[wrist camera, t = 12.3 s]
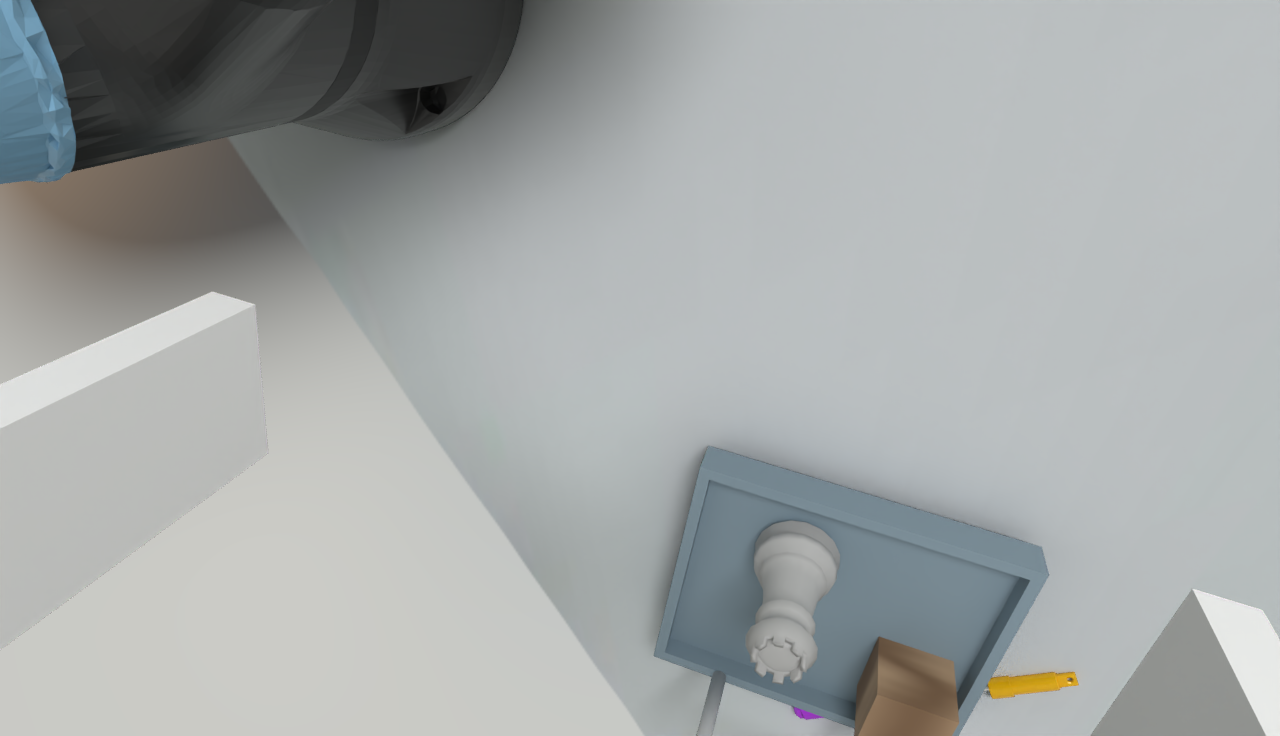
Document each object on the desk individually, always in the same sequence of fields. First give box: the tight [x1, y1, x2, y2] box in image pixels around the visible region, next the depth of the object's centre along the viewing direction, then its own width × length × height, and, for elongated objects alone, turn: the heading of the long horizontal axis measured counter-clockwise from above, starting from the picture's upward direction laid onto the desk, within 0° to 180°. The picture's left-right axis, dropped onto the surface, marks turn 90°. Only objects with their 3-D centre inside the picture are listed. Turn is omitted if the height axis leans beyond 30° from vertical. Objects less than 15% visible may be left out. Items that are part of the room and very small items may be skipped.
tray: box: [654, 446, 1049, 736], centre depth 39 cm, size 14×17×10 cm
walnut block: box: [854, 636, 959, 736], centre depth 40 cm, size 4×4×4 cm
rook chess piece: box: [746, 520, 840, 685], centre depth 37 cm, size 4×4×8 cm
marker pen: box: [794, 672, 1079, 720], centre depth 44 cm, size 3×1×16 cm
